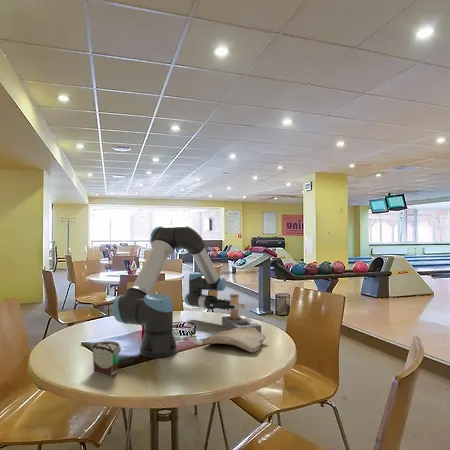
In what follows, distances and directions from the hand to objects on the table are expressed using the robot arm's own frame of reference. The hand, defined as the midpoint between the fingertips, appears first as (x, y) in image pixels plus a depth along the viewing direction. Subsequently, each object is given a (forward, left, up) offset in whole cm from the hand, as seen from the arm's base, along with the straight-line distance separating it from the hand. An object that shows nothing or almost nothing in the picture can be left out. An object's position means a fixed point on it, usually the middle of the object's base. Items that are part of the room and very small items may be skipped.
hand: (242, 307), depth 189 cm
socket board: (-2, +2, -11) cm, 11 cm away
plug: (+4, +3, -9) cm, 10 cm away
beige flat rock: (-25, +14, -11) cm, 31 cm away
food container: (-39, +68, -11) cm, 79 cm away
